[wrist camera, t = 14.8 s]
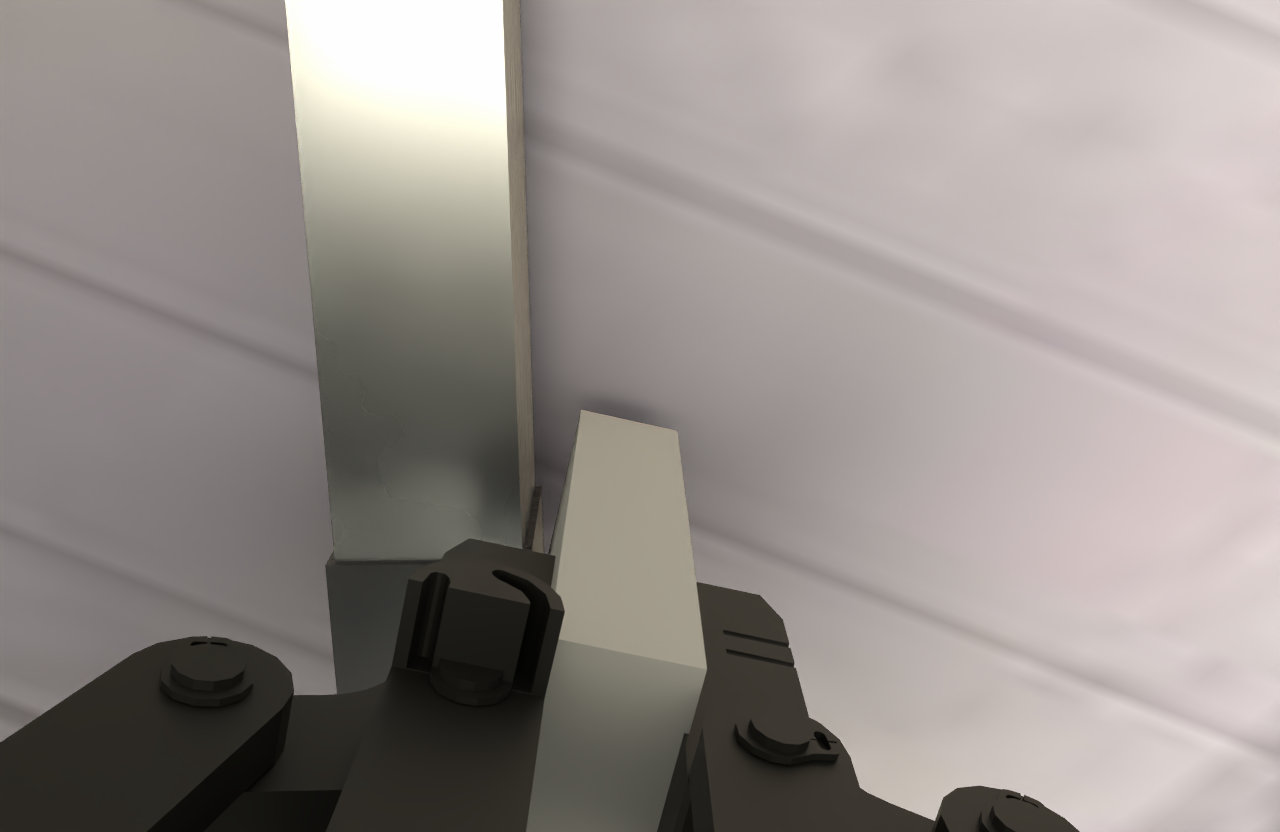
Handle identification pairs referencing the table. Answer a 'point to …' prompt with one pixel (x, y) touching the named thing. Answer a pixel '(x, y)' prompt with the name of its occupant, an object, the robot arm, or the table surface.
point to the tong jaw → (414, 294)
